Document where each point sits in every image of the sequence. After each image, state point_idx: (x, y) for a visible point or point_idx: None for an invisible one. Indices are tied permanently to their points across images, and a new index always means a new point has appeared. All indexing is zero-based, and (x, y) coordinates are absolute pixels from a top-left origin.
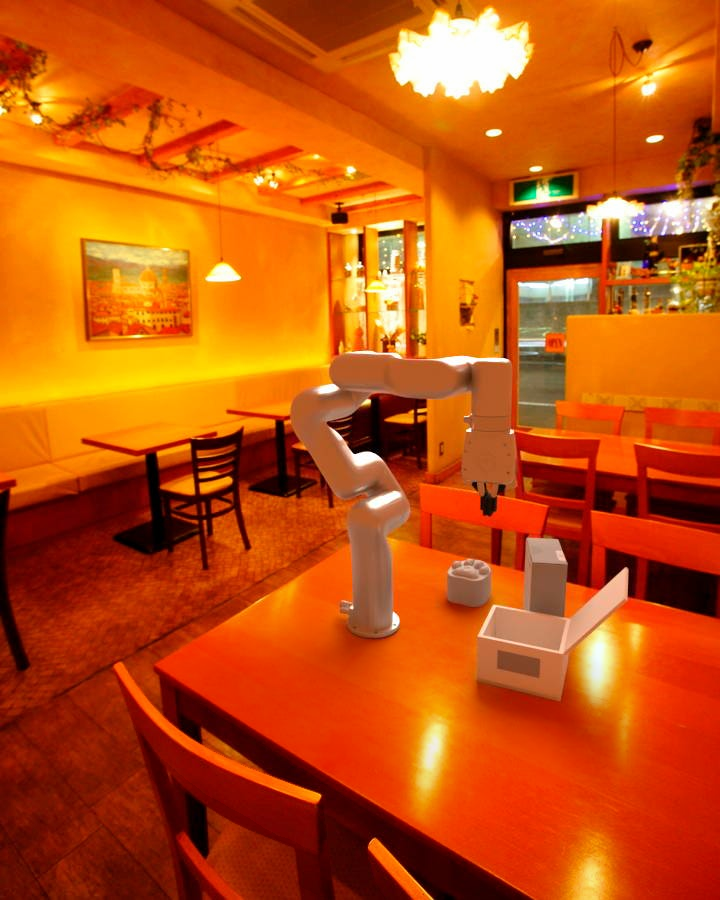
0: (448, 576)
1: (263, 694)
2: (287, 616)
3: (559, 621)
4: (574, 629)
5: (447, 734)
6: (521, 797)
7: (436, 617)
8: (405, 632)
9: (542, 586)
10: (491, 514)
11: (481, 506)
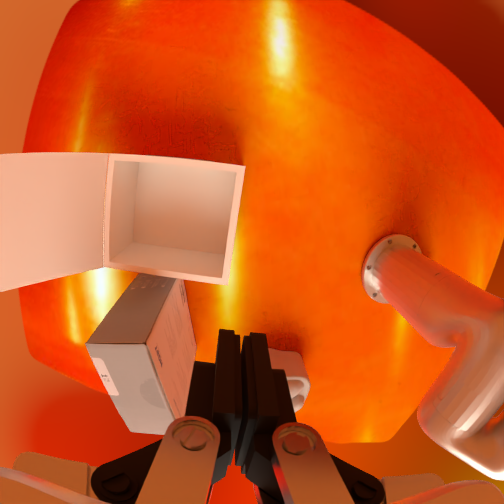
0: (307, 378)
1: (457, 110)
2: (471, 258)
3: (120, 261)
4: (88, 207)
5: (267, 61)
6: (186, 10)
7: (313, 310)
8: (352, 261)
9: (138, 316)
10: (217, 347)
11: (279, 380)
